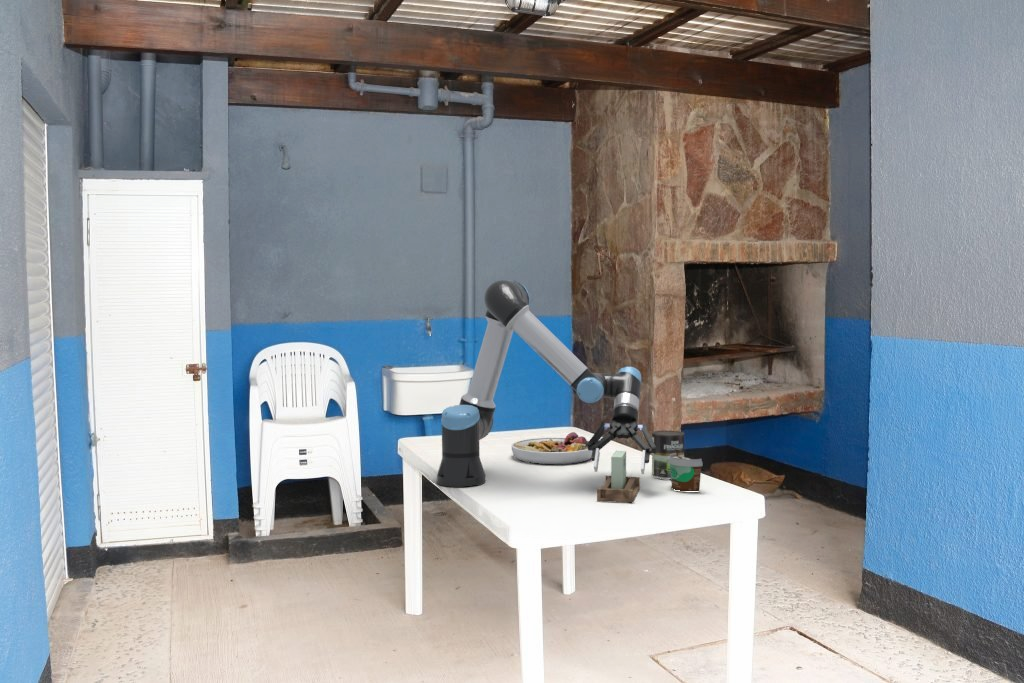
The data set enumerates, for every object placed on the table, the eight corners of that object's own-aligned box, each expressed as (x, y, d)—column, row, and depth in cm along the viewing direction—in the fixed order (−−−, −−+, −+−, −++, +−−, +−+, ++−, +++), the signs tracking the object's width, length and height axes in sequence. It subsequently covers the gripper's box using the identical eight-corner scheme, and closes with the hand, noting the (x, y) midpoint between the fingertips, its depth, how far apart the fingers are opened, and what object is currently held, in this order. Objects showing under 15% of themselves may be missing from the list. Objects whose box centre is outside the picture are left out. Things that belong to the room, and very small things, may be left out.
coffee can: (690, 478, 268) (690, 434, 267) (660, 481, 265) (660, 436, 264) (675, 472, 278) (675, 429, 277) (646, 474, 275) (646, 431, 274)
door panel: (611, 495, 243) (610, 456, 242) (615, 487, 252) (615, 450, 252) (622, 495, 242) (622, 457, 241) (626, 487, 252) (626, 450, 251)
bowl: (565, 470, 283) (565, 447, 283) (494, 460, 301) (494, 438, 301) (611, 456, 307) (611, 434, 307) (543, 447, 325) (543, 427, 325)
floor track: (597, 501, 240) (596, 489, 240) (606, 487, 257) (606, 475, 257) (632, 503, 237) (632, 490, 237) (639, 488, 255) (639, 477, 254)
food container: (659, 487, 256) (659, 454, 256) (674, 484, 259) (675, 452, 259) (686, 495, 246) (686, 461, 245) (702, 493, 249) (702, 459, 248)
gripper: (667, 420, 259) (663, 479, 245) (586, 417, 265) (577, 475, 252) (666, 405, 254) (661, 465, 240) (583, 402, 260) (574, 461, 246)
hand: (618, 470), depth 246 cm, fingers open, 13 cm apart
